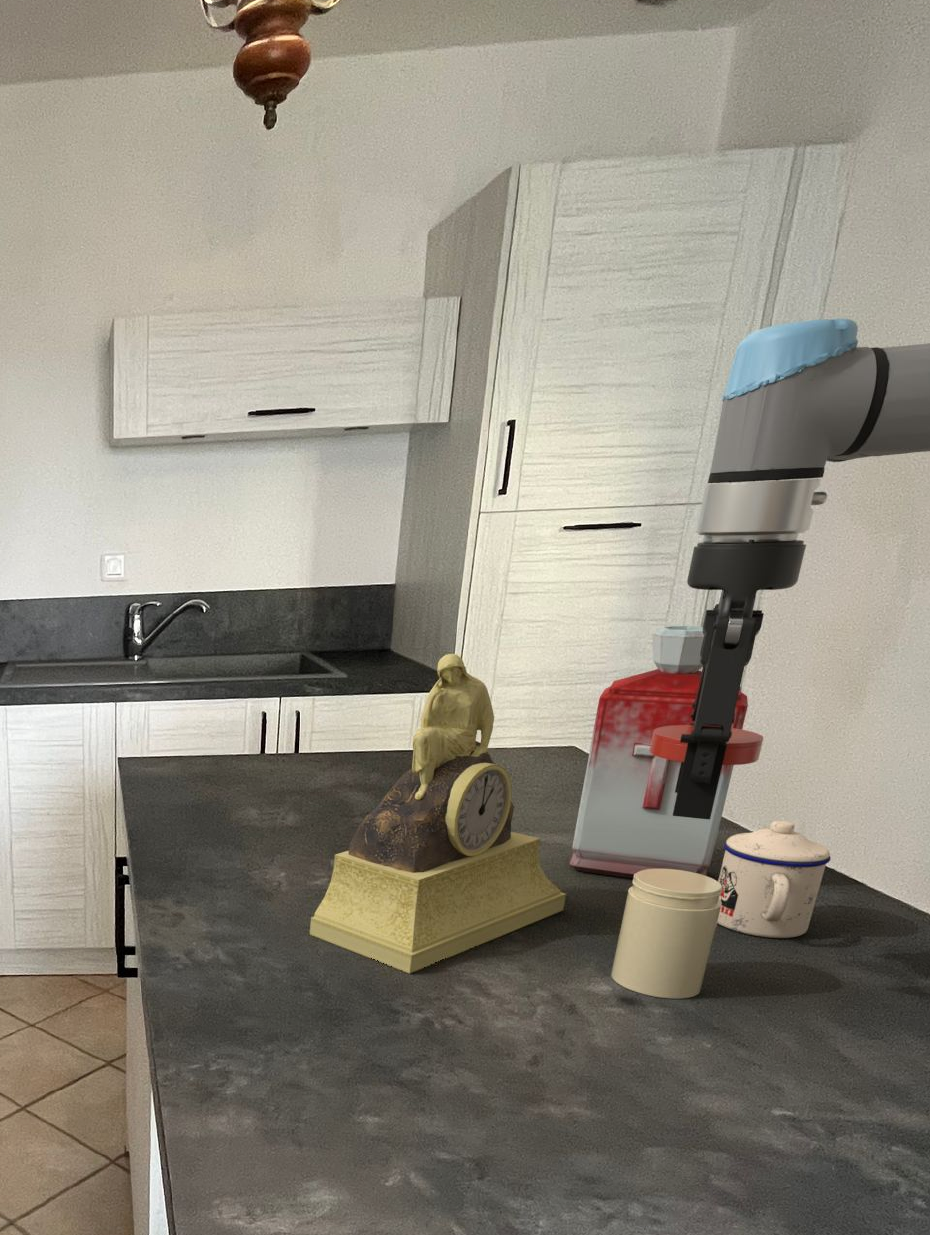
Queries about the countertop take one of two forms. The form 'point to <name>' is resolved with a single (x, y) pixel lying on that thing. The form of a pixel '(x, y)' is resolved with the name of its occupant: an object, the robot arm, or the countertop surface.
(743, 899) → the teacup with lid
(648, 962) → the jar
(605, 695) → the bottle
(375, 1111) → the countertop surface
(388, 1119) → the countertop surface
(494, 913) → the decorative clock
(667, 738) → the lid
